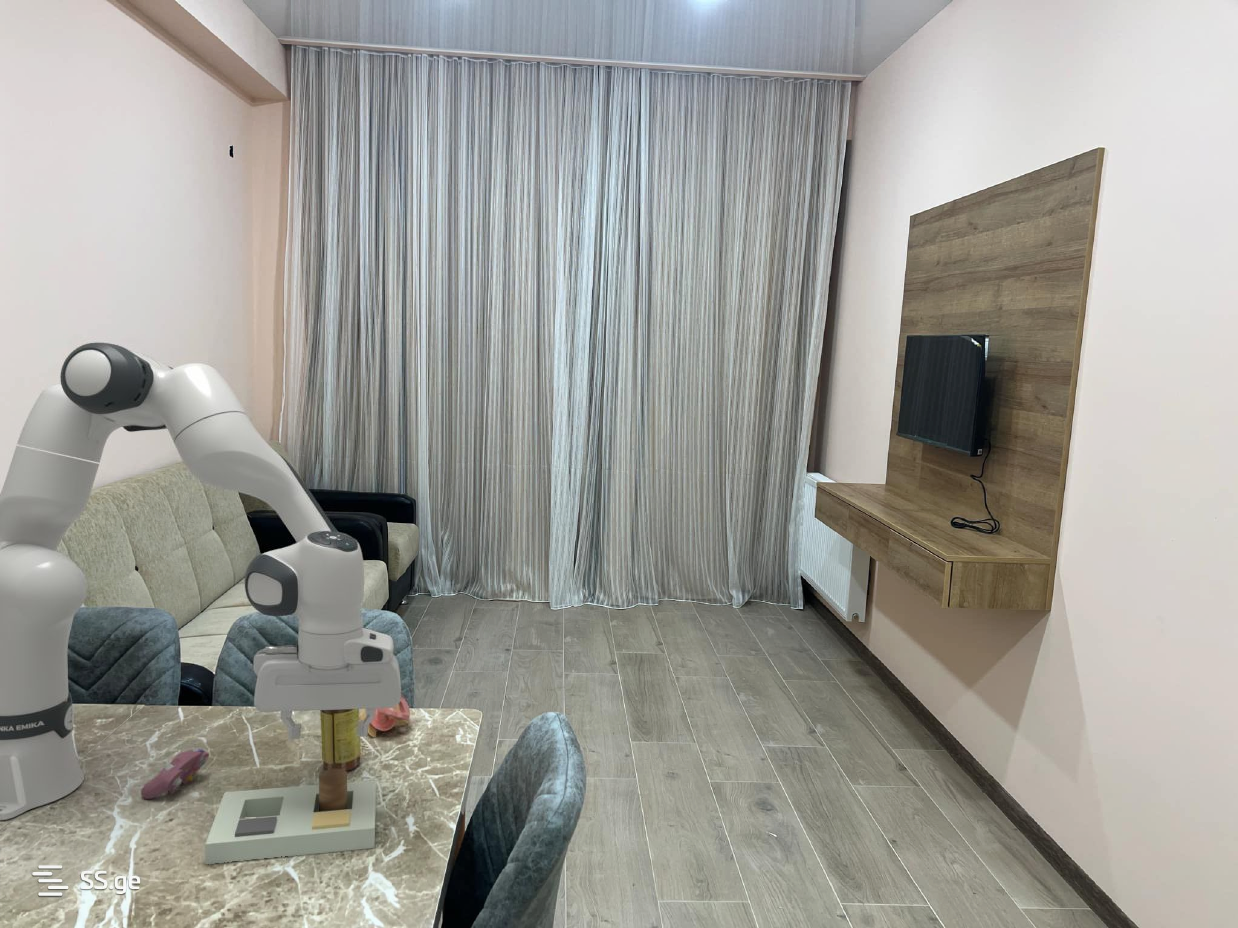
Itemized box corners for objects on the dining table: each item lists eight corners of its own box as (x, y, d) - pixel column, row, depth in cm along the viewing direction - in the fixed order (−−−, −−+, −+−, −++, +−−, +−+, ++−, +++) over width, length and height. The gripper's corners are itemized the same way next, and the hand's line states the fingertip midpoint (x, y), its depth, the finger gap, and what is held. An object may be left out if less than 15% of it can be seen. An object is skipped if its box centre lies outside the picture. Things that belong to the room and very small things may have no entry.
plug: (317, 827, 127) (317, 782, 126) (320, 813, 131) (320, 769, 130) (346, 824, 128) (346, 780, 127) (347, 810, 132) (348, 767, 131)
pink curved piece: (159, 812, 132) (177, 776, 131) (135, 796, 132) (153, 760, 131) (201, 781, 142) (218, 748, 140) (179, 766, 142) (196, 733, 141)
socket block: (205, 864, 117) (205, 840, 116) (224, 810, 130) (224, 788, 130) (374, 847, 123) (374, 824, 122) (376, 797, 136) (376, 776, 136)
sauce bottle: (366, 758, 149) (367, 647, 146) (351, 775, 143) (352, 660, 140) (329, 754, 149) (329, 644, 147) (313, 772, 143) (313, 657, 141)
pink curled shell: (346, 740, 156) (351, 690, 162) (391, 751, 163) (393, 702, 169) (379, 724, 152) (383, 673, 158) (423, 736, 159) (425, 687, 164)
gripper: (249, 653, 119) (248, 749, 121) (402, 650, 124) (399, 742, 125) (257, 639, 125) (256, 730, 127) (402, 636, 130) (400, 724, 131)
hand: (328, 736), depth 126 cm, fingers open, 8 cm apart
